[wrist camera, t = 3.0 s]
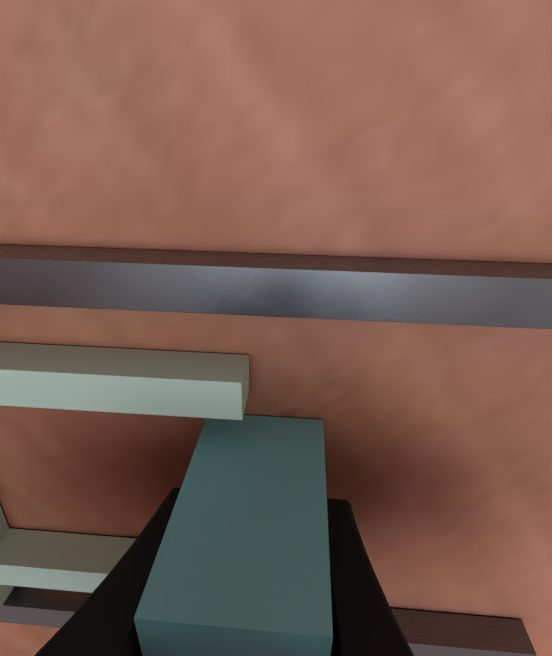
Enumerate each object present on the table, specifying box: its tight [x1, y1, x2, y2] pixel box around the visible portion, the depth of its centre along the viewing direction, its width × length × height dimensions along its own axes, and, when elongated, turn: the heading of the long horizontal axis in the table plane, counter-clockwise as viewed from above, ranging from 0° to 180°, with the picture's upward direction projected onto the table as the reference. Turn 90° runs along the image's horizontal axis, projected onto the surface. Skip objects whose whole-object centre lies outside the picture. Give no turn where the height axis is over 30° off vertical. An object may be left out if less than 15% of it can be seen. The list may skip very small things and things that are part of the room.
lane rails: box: [0, 244, 552, 656], centre depth 11 cm, size 13×25×1 cm, turn 89°
